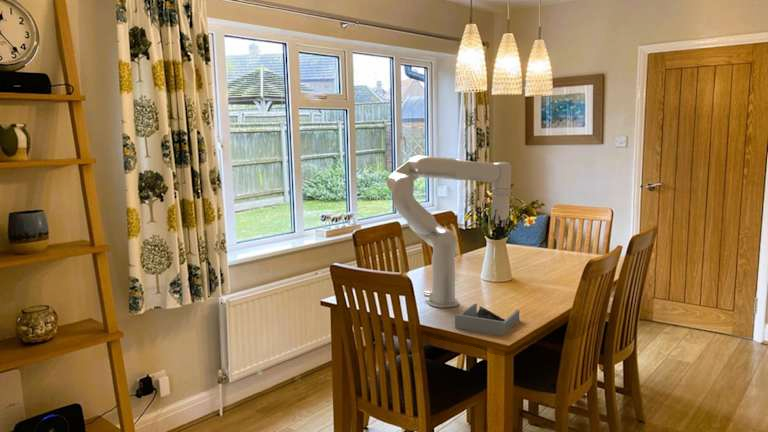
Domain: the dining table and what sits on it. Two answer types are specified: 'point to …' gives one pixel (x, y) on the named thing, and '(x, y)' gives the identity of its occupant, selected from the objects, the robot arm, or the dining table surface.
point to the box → (484, 322)
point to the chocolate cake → (487, 315)
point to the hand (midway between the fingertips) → (500, 235)
